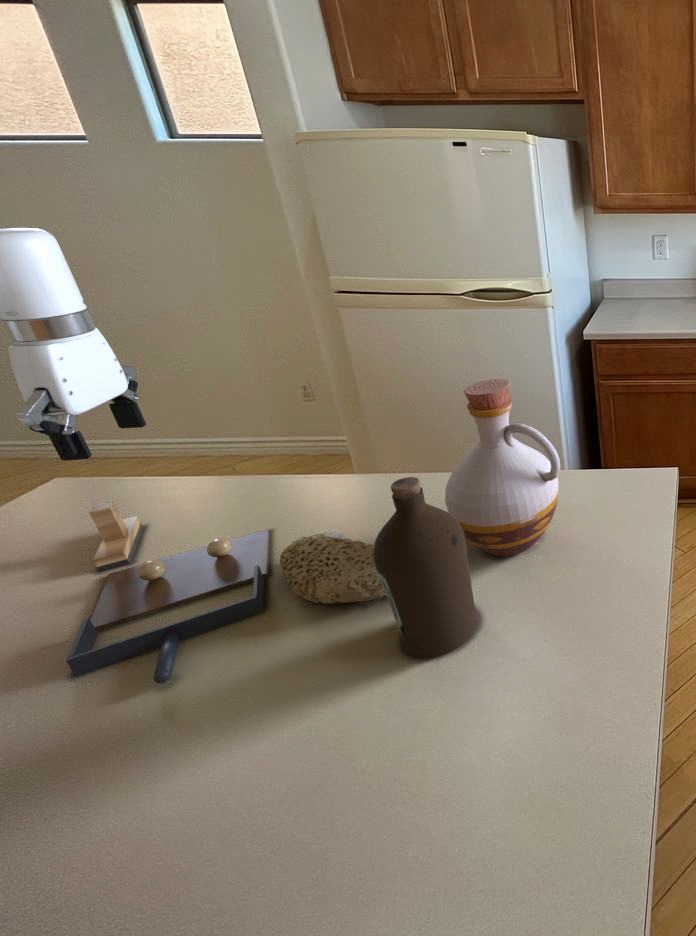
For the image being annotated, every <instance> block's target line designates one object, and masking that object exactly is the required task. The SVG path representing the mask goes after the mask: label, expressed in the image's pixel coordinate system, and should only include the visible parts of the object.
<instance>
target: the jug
mask: <svg viewBox="0 0 696 936" xmlns="http://www.w3.org/2000/svg"><path fill="white" fill-rule="evenodd" d="M510 386H511V382H510V380H508V379H504V378H493V379H492V378H491V379H486V380H481V381H477V382H473V383H472V384H469V385H468V386H466V387H465V388H464V390H463V394H464V395H465V397H466V399H467V401H468V403H467V405H466V408H467V411H468V413H469V414H470V416H472V417H473V419H474V422H475V424H476V426H477V428H476V429H477V432H478V435H479V442H478V443H477V444H476V445H475V447H474V448H473V449H472V450H471V451H470V452H469V453H468V455H467V456H466V457H465V458H463V459H462V460H461V461H460V462H459V463H458V465H456V466H455V468H454V469H453V470H452V472H451V473H450V476H449V477H448V480H447V482H446V484H445V493H444V502H445V506H446V509H447V512H448V513H450V514H451V515H452V516H454V517H455V518H456V520H457V521H458V522H459V524H460V526H461V527H462V529H463V532H464V535H465V541H466V542H468V543H469V544H471V545H473V546H474V547H477V548H478V549H480V550H481V551H483V552H486V553H488V554H490V555H492V556H495V557H512V556H517V555H520V554H523V553H524V552H526V551H528V550H530V549H531V548H532V547H533V546H534V545H535V544H536V543H537V542H538V541H539V539H540V538H541V537H542V536H543V534H544V533H545V532H546V530H547V529H548V528H549V526H550V525H551V523H552V521H553V518H554V515H555V513H556V510H557V509H556V508H557V504H558V499H559V492H560V491H559V486H560V485H559V477H558V476H559V474H560V470H561V461H560V457H559V454H558V451H557V450H556V448H555V447H554V445H553V444H552V442H551V441H550V440H549V439H548V438H547V437H546V436H545V435H544V434H543V433H541V432H540V431H539V430H537V429H536V428H533V427H532V426H530V425H527V424H524V423H512V424H510V422H509V421H510V411H511V410H512V407H513V406H512V405H513V399H512V397H509V393H510ZM515 433H519V434H522V435H525V436H528V437H529V438H530V439H533V440H534V441H535V442H536V443H537V444H539V446H540V447H541V448H542V449H543V450H544V452H545V453H546V455H547V457H548V458H547V457H546V456H545V455H544V454H543V453H542V452H539V451H538V450H536V449H534V448H533V447H530V446H529V445H526V444H525V443H522V442H520V441H519V440H517V439H516V438H514V437H513V434H515Z"/></svg>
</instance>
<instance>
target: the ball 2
mask: <svg viewBox="0 0 696 936" xmlns="http://www.w3.org/2000/svg"><path fill="white" fill-rule="evenodd" d="M228 540H229V539H227V538H216V539H213V540H212V541H210V543H209V544H208V545H207V546H208V547H207V552H208V554H209V555H210V556H212V557H223V556H225V555H226V554H228V553H229V552H230V550H231V547H232V546H231V543H230V541H228Z"/></svg>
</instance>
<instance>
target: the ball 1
mask: <svg viewBox="0 0 696 936" xmlns="http://www.w3.org/2000/svg"><path fill="white" fill-rule="evenodd" d="M156 560H157V559H156ZM156 560H155V559H154V560H148V561H146V562H143V563H142V564H140V565H141V566H140V567H139V569H138V576H139V577H140V578H141V579H142V580H146V581H151V580H155V579H157V578H159V577H161V576H162V575H163V573H164V572H165V565H164V564H163V563H162V562H160V561H156Z"/></svg>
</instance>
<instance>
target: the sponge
mask: <svg viewBox="0 0 696 936" xmlns="http://www.w3.org/2000/svg"><path fill="white" fill-rule="evenodd" d="M374 546H375V545H372V544H367V543H365V542H362V541H361V540H354V541H353V540H352V539H351V538H347V537H345V535H344V534H343V533H339V532H322V533H316V534H312V535H309V536H302V537H300V538H299V539H296V540H294V541H292V542H291V544H289V545H288V546H286V548H284V549H283V551H282V552H281V555H280V556H279V557H280V558H279V564H280V569H281V572H282V575H283V577H284V578H285V579H286V581H287V584H288V585H289V586H290V588H291V590H292V591H293V593H294V594H295V595H296V596H299V597H300V598H303V599H305V600H307V601H311V602H312V603H317V604H318V603H319V602H320V603H321V604H337V603H353V602H354V603H355V602H370V601H372V600H375V599H380V598H382V597H387V596H386V593H385V590H384V588H383V585H382V582H381V580H380V577H379V575H378V572H377V569H376V567H375V563H374Z"/></svg>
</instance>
